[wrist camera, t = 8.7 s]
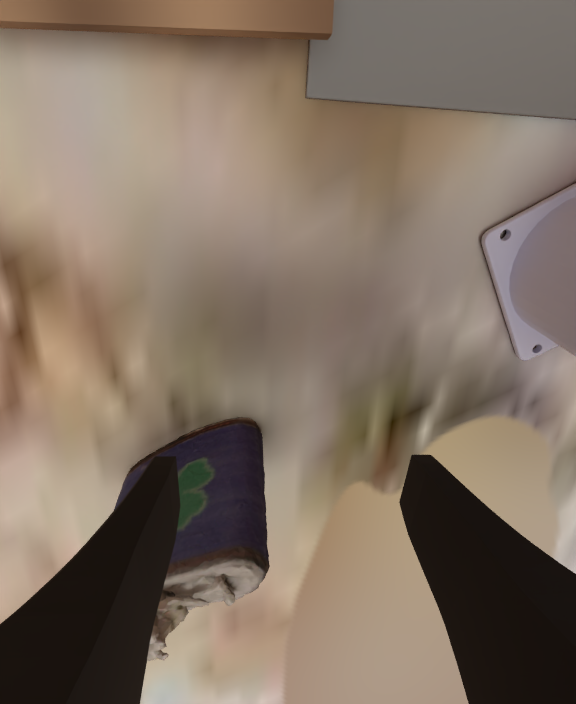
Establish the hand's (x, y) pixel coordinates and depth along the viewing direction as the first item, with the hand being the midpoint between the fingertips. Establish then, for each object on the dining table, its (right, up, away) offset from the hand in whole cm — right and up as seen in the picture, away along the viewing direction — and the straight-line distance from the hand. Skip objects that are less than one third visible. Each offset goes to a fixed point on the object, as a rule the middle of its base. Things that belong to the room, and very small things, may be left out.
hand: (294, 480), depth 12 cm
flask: (-6, -2, +12) cm, 14 cm away
